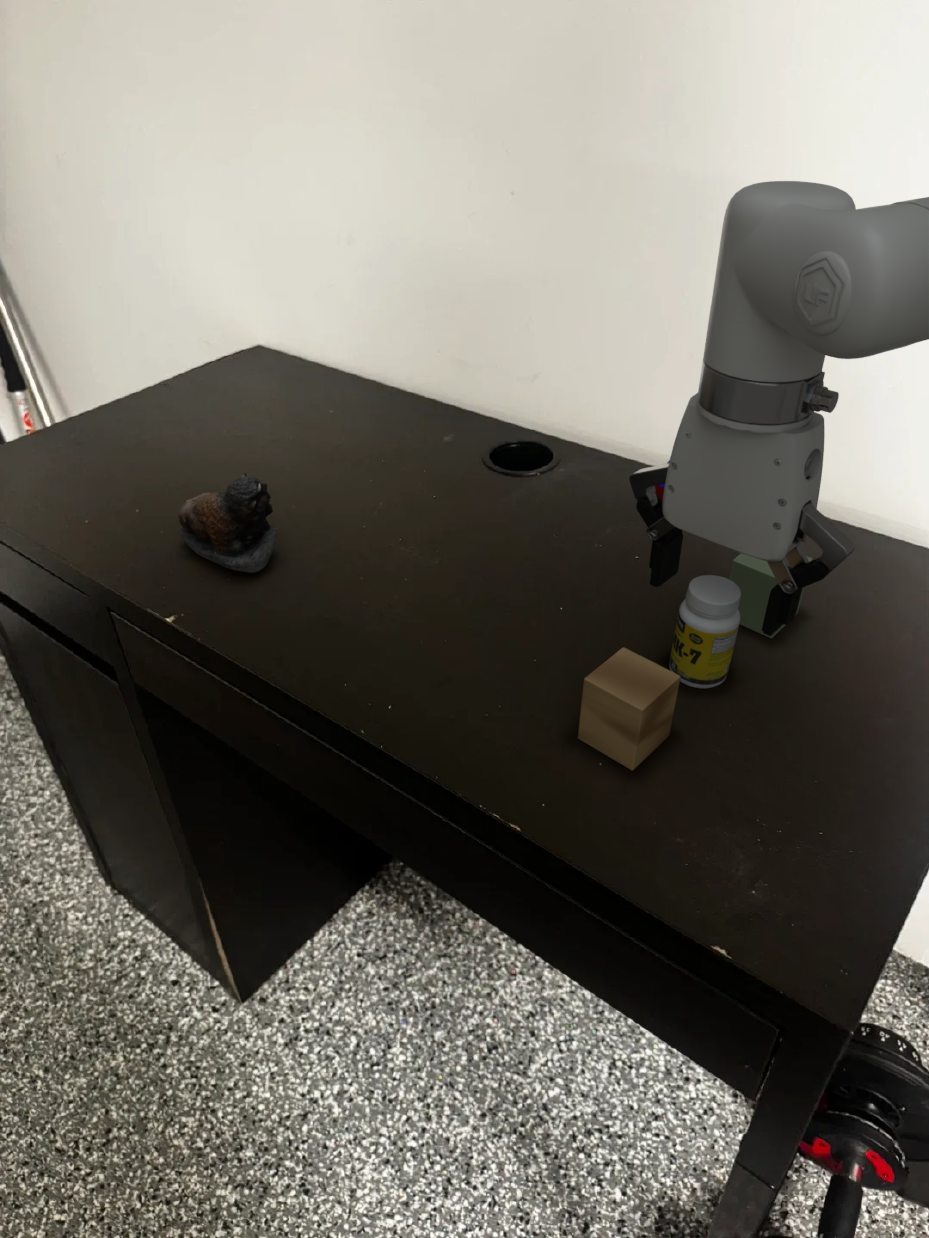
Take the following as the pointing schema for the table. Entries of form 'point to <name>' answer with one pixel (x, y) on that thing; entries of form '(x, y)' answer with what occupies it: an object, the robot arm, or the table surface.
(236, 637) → the table surface
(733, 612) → the supplement bottle
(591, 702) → the oak block
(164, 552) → the table surface
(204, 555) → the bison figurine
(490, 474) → the table surface
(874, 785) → the table surface
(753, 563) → the sage block
